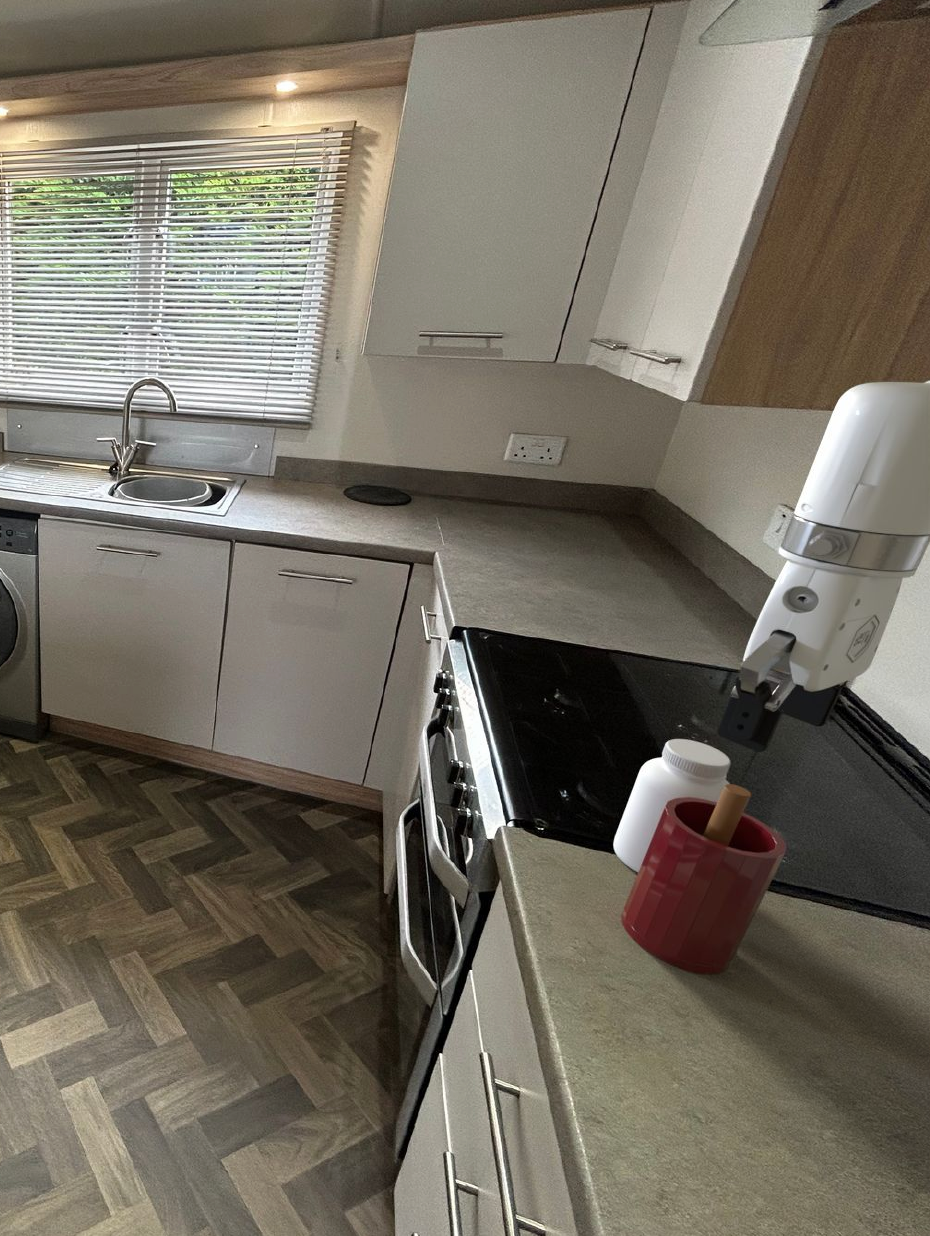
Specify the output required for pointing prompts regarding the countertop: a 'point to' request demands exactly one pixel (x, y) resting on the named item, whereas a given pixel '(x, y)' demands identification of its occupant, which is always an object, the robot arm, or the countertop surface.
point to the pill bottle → (667, 792)
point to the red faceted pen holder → (700, 887)
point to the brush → (727, 814)
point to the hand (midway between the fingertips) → (770, 730)
